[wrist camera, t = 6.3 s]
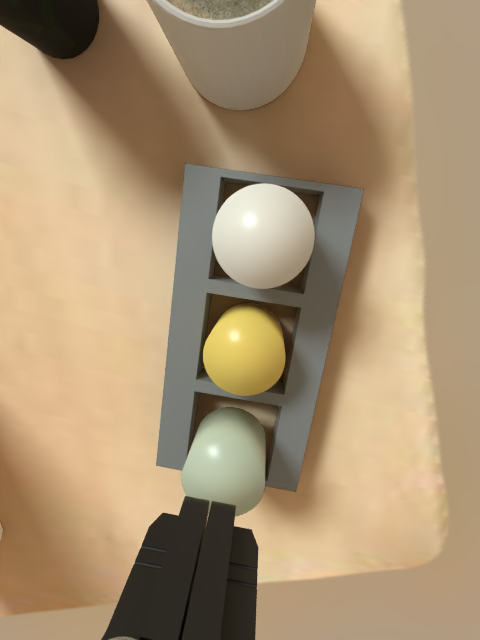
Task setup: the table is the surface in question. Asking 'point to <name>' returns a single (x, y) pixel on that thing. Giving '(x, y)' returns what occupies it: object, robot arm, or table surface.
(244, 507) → the sage button
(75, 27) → the cup
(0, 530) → the foam cup
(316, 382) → the grey compartment tray
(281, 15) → the mug
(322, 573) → the table surface
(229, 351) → the mustard button
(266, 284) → the offwhite button
